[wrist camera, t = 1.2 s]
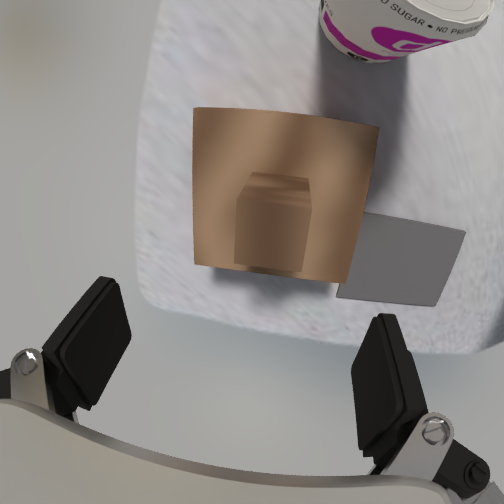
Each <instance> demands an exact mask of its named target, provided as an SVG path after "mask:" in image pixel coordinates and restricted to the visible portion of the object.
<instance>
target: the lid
mask: <svg viewBox="0 0 504 504" xmlns="http://www.w3.org/2000/svg"><path fill="white" fill-rule="evenodd" d="M378 132H379V128H378V127H375V126H371V125H366V124H361V123H356V122H350V121H345V120H339V119H333V118H327V117H320V116H313V115H305V114H297V113H289V112H279V111H268V110H255V109H238V108H208V107H196V108H194V110H193V166H192V178H193V236H194V262H195V264H196V265H203V266H210V267H218V268H225V269H232V270H239V271H247V272H254V273H262V274H269V275H277V276H285V277H293V278H301V279H309V280H317V281H325V282H334V283H342V284H346V280H347V277H348V273H349V269H350V266H351V262H352V258H353V254H354V251H355V247H356V243H357V239H358V234H359V230H360V226H361V222H362V217H363V213H364V208H365V204H366V199H367V194H368V189H369V184H370V179H371V174H372V168H373V163H374V157H375V151H376V145H377V139H378Z"/></svg>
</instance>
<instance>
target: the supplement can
mask: <svg viewBox="0 0 504 504" xmlns="http://www.w3.org/2000/svg"><path fill="white" fill-rule="evenodd" d="M494 2H495V0H321V2H320V6H319V22H320V25H321V27H322V29H323V31H324V34H325V36H326V37H327V38H328V40H329V41H330V42H331V43H332V44H333V45H334V46H335V47H336V48H337V49H338V50H339V51H341V52H343V53H344V54H346V55H348V56H349V57H351V58H352V59H356V60H360V61H363V62H366V63H385V62H388V61H391V60H394V59H397V58H399V57H402V56H405V55H408V54H412V53H415V52H418V51H421V50H424V49H428V48H431V47H435V46H438V45H442V44H446V43H449V42H453V41H457V40H460V39H464V38H468V37H471V36H475V35H476V34H477V33H478V31H479V30H480V29H481V28H482V27H483V26H484V25H485V24H486V22H487V19H488V15H489V13H490V12H491V11H492V10H493V8H494Z"/></svg>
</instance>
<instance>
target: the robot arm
mask: <svg viewBox="0 0 504 504" xmlns="http://www.w3.org/2000/svg"><path fill="white" fill-rule="evenodd" d="M130 340H131V330H130V326H129V323H128V319H127V315H126V311H125V307H124V303H123V299H122V295H121V291H120V286H119V284H118V283H116V281H115V279H113V278H108V277H103V276H100V277H99V278H98V279H97V280H96V281H95V282H94V283H93V284H92V285H91V287H90V288H89V289H88V290H87V291H86V292H85V294H84V295H83V296H82V297H81V299H80V300H79V301H78V302H77V303H76V304H75V306H74V307H73V308H72V309H71V311H70V312H69V313H68V314H67V315H66V317H65V318H64V319H63V320H62V322H61V323H60V324H59V326H58V327H57V328H56V329H55V331H54V332H53V333H52V335H51V336H50V337H49V339H48V340H47V341H46V342H45V344H44V345H43V347H42V349H43V351H42V352H41V353H40V352H39V351H37V350H36V349H32V348H29V349H24V350H22V351H20V352H19V353H17V354H16V355H15V357H14V358H13V360H12V362H11V368H9V369H6V370H3V371H0V504H504V495H503V493H502V492H501V491H500V489H499V488H498V486H497V485H496V484H495V482H491V483H490V481H489V479H490V470H489V466H488V465H487V463H486V462H485V461H484V460H483V459H481V458H480V457H478V456H477V455H476V454H474V453H472V452H471V451H470V450H468V449H467V448H466V447H464V446H463V445H461V444H460V443H458V442H457V441H456V440H454V439H453V437H454V429H453V426H452V423H451V422H450V420H449V419H448V418H446V416H444V415H442V414H440V413H435V412H432V413H428V409H427V405H426V401H425V397H424V394H423V390H422V387H421V383H420V380H419V376H418V373H417V370H416V366H415V363H414V360H413V357H412V354H411V352H410V351H409V350H407V347H406V344H405V341H404V338H403V335H402V332H401V329H400V326H399V324H398V321H397V318H396V316H395V315H394V314H385V313H379V314H378V316H377V317H373V319H372V321H371V323H370V326H369V328H368V331H367V333H366V335H365V338H364V340H363V342H362V345H361V347H360V349H359V351H358V354H357V356H356V358H355V360H354V362H353V364H352V368H351V376H352V384H353V393H354V403H355V413H356V422H357V436H358V446H359V450H363V457H373V458H374V464H375V465H374V466H373V468H372V469H371V470H370V471H369V473H368V474H367V475H360V476H298V475H297V476H296V475H281V474H269V473H259V472H251V471H243V470H236V469H230V468H224V467H218V466H213V465H207V464H202V463H198V462H193V461H188V460H184V459H180V458H176V457H172V456H168V455H165V454H161V453H158V452H154V451H151V450H147V449H144V448H141V447H138V446H135V445H132V444H129V443H126V442H123V441H120V440H117V439H114V438H112V437H109V436H106V435H104V434H102V433H99V432H97V431H94V430H92V429H89V428H87V427H84V426H82V425H80V424H79V422H78V419H77V415H76V409H77V407H78V406H79V407H81V408H83V409H86V410H88V411H90V409H91V407H92V405H93V406H94V405H96V404H97V402H98V400H99V398H100V396H101V394H102V392H103V390H104V389H105V387H106V385H107V383H108V381H109V379H110V377H111V375H112V374H113V372H114V370H115V368H116V366H117V364H118V363H119V361H120V359H121V357H122V355H123V353H124V352H125V350H126V348H127V346H128V344H129V343H130Z"/></svg>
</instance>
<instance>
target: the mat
mask: <svg viewBox="0 0 504 504" xmlns="http://www.w3.org/2000/svg"><path fill="white" fill-rule="evenodd" d="M465 234H466V232H465V231H462V230H458V229H453V228H448V227H443V226H438V225H433V224H428V223H423V222H418V221H413V220H407V219H402V218H396V217H391V216H385V215H379V214H373V213H367V212H364V213H363V217H362V222H361V226H360V230H359V234H358V239H357V243H356V247H355V251H354V254H353V258H352V262H351V266H350V269H349V273H348V277H347V280H346V284H342V283H340V284H339V287H338V291H337V294H336V295H337V297H342V298H352V299H361V300H371V301H381V302H391V303H402V304H413V305H425V306H436V304H437V302H438V300H439V297H440V295H441V293H442V291H443V289H444V287H445V284H446V282H447V280H448V277H449V275H450V273H451V270H452V268H453V265H454V263H455V261H456V258H457V255H458V253H459V250H460V248H461V245H462V242H463V239H464V237H465Z"/></svg>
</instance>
